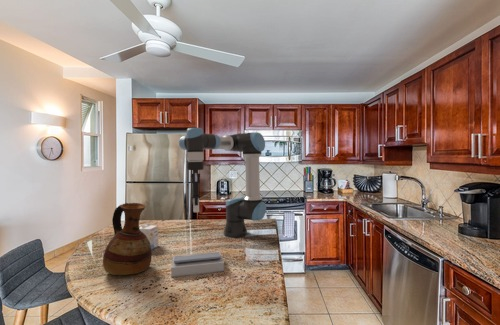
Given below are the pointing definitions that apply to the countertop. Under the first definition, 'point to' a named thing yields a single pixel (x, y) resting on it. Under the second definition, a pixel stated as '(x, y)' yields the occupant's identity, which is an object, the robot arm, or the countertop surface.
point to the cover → (196, 257)
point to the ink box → (150, 233)
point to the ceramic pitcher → (127, 243)
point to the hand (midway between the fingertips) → (196, 211)
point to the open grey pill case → (197, 267)
